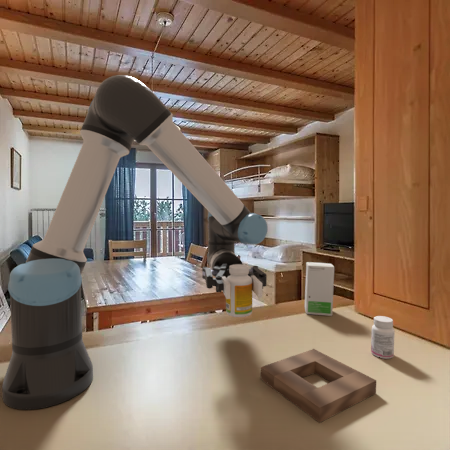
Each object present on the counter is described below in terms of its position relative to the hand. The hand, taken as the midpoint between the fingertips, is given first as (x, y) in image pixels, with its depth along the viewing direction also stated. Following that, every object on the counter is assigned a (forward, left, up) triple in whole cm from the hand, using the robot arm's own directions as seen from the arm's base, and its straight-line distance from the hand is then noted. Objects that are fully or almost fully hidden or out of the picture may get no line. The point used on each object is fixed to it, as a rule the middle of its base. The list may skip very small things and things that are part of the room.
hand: (244, 291), depth 60 cm
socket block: (+12, -7, -18) cm, 23 cm away
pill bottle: (+35, -6, -19) cm, 40 cm away
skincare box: (+45, +22, -19) cm, 53 cm away
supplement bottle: (+2, +5, -6) cm, 8 cm away
